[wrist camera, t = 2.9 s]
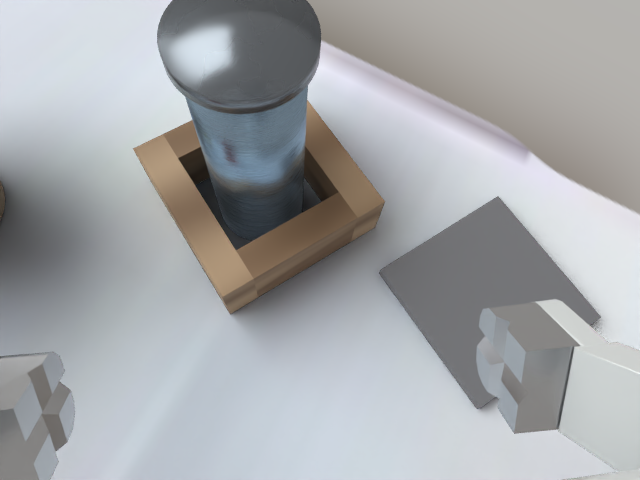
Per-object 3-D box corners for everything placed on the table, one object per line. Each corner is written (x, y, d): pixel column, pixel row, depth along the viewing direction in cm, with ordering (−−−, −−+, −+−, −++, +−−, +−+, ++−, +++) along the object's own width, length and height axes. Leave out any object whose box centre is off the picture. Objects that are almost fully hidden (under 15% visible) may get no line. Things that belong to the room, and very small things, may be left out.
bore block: (375, 227, 30) (384, 201, 27) (230, 314, 28) (222, 297, 25) (288, 110, 33) (287, 74, 30) (149, 179, 31) (133, 148, 28)
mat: (595, 319, 29) (601, 317, 28) (476, 408, 27) (480, 408, 26) (494, 200, 32) (498, 196, 31) (379, 272, 29) (380, 269, 29)
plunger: (327, 217, 31) (352, 55, 18) (244, 265, 29) (207, 127, 16) (277, 147, 32) (267, -47, 19) (196, 189, 31) (128, 10, 18)
